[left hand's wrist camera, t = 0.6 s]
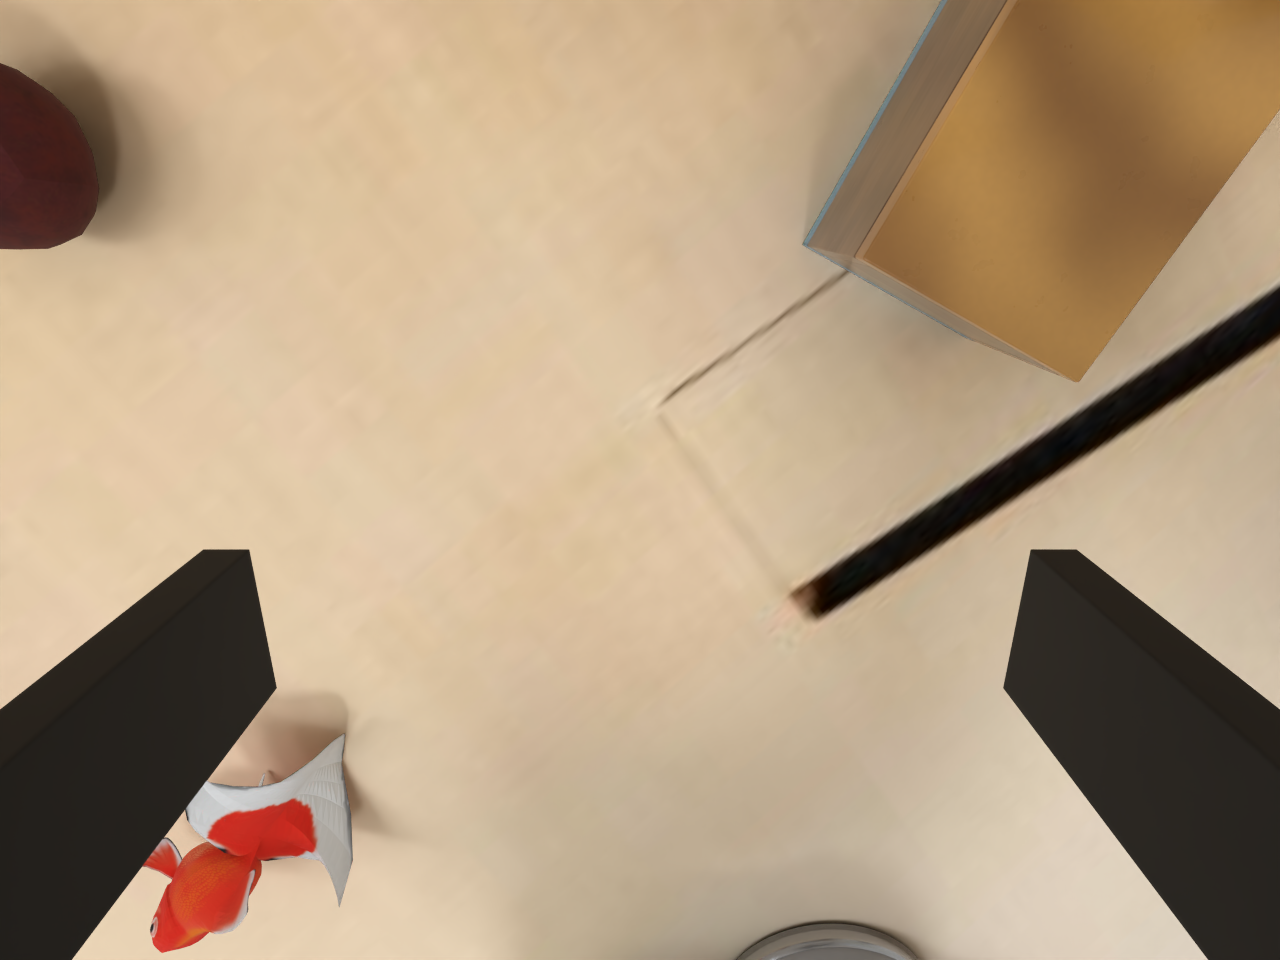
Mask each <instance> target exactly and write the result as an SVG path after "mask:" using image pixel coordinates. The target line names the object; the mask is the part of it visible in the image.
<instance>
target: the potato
mask: <svg viewBox="0 0 1280 960" xmlns="http://www.w3.org/2000/svg"><path fill="white" fill-rule="evenodd" d="M98 193H99V186H98V180H97V175H96V169H95V163H94V158H93V154H92V151H91V149H90V147H89V145H88V143H87V141H86V138H85V136H84V134H83V132H82V130H81V128H80V126H79V124H78V122H77V120H76V118H75V116H74V115H73V114H72V113H71V112H70V111H69V110H68V109H67V108H66V107H65V106H64V105H63V104H62V103H61V102H60V101H59V100H58V99H57V98H56V97H55V96H54V95H53V94H52V93H50V92H49V91H48V90H46V89H45V88H43V87H42V86H41V85H39V84H38V83H36V82H35V81H33V80H32V79H30V78H29V77H27V76H26V75H24V74H23V73H21V72H20V71H18V70H16V69H14V68H11V67H9V66H6V65H4V64H1V63H0V249H49V248H52V247H55V246H58V245H61V244H63V243H65V242H67V241H69V240H71V239H73V238H76V237H78V236H80V235H82V233H83V232H84V230H85V229H86V227H87V226H88V224H89V223H90V221H91V219H92V218H93V216H94V214H95V211H96V206H97V199H98Z"/></svg>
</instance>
